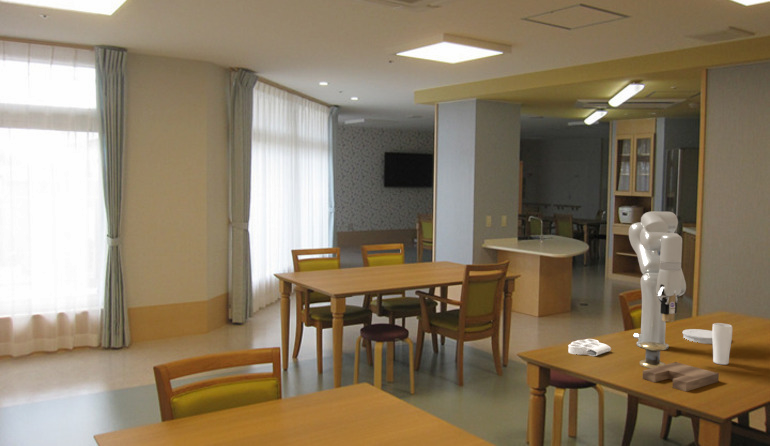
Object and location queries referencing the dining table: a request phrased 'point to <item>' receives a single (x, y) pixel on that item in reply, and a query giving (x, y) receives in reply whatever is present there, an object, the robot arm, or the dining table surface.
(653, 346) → the bobbin
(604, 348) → the knuckle duster
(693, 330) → the lid
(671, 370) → the notched board
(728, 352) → the drinking glass
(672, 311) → the sprinkles bottle
